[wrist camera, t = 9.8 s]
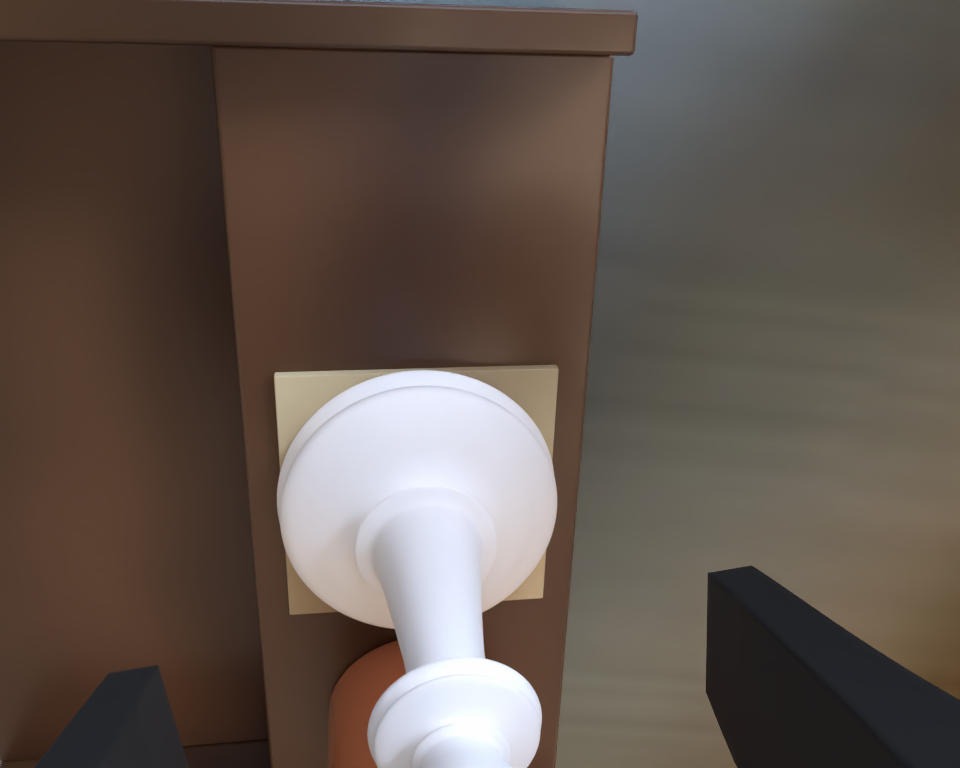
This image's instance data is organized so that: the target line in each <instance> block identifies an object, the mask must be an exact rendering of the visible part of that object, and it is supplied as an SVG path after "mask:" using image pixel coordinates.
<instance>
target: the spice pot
mask: <svg viewBox="0 0 960 768" xmlns="http://www.w3.org/2000/svg"><path fill="white" fill-rule="evenodd" d="M485 659H487V658H486V657H485ZM405 674H406V670H405V666H404V661H403V657H402V653H401V650H400V646H399V643H398V640H395V641H392V642H389V643H386V644H383V645H381V646H379V647H377V648H375V649H373V650H371V651H369V652H368V653H366V654H365V655H363V656H362V657H360V658H359V659H358V660H356V661H355V662H354V663H353V664H352V665H351V666H350V667H349V668H348V669H347V670H346V671H345V672H344V674H343V675H342V676H341V678H340V679H339V681H338V682H337V684H336V686H335V688H334V689H333V692H332V695H331V697H330V701H329V706H328V733H327V768H377V765H376V763H375V761H374V759H373V757H372V755H371V752H370V749H369V745H368V738H367V731H368V724H369V719H370V716H371V713H372V711H373V709H374V707H375V705H376V703H377V701H378V700H379V698H380V697H381V696H382V694H383V693H384V692H385V691H386V690H387V689H388V688H389V687H390V686H391V685H392V684H393V683H394V682H395V681H396V680H398V679H399V678H400V677H402V676H403V675H405Z"/></svg>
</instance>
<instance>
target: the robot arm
mask: <svg viewBox="0 0 960 768" xmlns="http://www.w3.org/2000/svg"><path fill="white" fill-rule="evenodd" d="M706 693H707V695H708V698H709V701H710V703H711V706H712V708H713V711H714V713H715V716H716V718H717V721H718V723H719V726H720V728H721V731H722V733H723V736H724V738H725V740H726V743H727V745H728V748H729V750H730V752H731V755H732V757H733V759H734V762H735V764H736V765H737V767H738V768H960V700H958V699H957V698H955V697H953V696H952V695H950V694H948V693H946V692H945V691H943V690H941V689H940V688H938V687H936V686H934V685H933V684H931V683H929V682H928V681H926V680H924V679H922V678H921V677H919V676H917V675H916V674H914V673H912V672H911V671H909V670H908V669H906V668H904V667H903V666H901V665H900V664H898V663H896V662H895V661H893V660H891V659H890V658H888V657H887V656H885V655H884V654H882V653H880V652H879V651H877V650H876V649H874V648H873V647H871V646H870V645H868V644H867V643H865V642H864V641H862V640H860V639H859V638H857V637H856V636H854V635H853V634H851V633H850V632H848V631H847V630H845V629H844V628H842V627H841V626H839V625H838V624H836V623H835V622H834V621H832V620H831V619H829V618H828V617H826V616H825V615H823V614H822V613H820V612H819V611H818V610H816V609H815V608H813V607H812V606H810V605H809V604H807V603H806V602H804V601H803V600H802V599H800V598H799V597H797V596H796V595H794V594H793V593H791V592H790V591H789V590H787V589H786V588H784V587H783V586H781V585H780V584H778V583H777V582H776V581H774V580H773V579H771V578H770V577H768V576H767V575H765V574H764V573H762V572H761V571H759V570H758V569H756V568H755V567H753V566H747V567H741V568H735V569H729V570H723V571H717V572H711V573H708V600H707V658H706ZM34 768H189V766H188V763H187V760H186V756H185V753H184V750H183V746H182V743H181V740H180V736H179V733H178V730H177V727H176V723H175V720H174V717H173V713H172V710H171V707H170V703H169V700H168V697H167V693H166V690H165V687H164V684H163V680H162V677H161V674H160V670H159V667H158V665H155V666H149V667H143V668H137V669H131V670H125V671H119V672H113V673H108V675H107V676H106V677H105V678H104V680H103V681H102V682H101V683H100V685H99V686H98V687H97V688H96V689H95V691H94V692H93V693H92V694H91V696H90V697H89V698H88V699H87V701H86V702H85V703H84V704H83V706H82V707H81V708H80V710H79V711H78V712H77V713H76V715H75V716H74V717H73V719H72V720H71V721H70V722H69V724H68V725H67V726H66V728H65V729H64V730H63V731H62V733H61V734H60V735H59V737H58V738H57V739H56V740H55V742H54V743H53V744H52V746H51V747H50V748H49V749H48V751H47V752H46V753H45V754H44V756H43V757H42V758H41V760H40V761H39V762H38V763H37V765H36V766H35V767H34Z"/></svg>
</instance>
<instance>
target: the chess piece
mask: <svg viewBox="0 0 960 768" xmlns="http://www.w3.org/2000/svg"><path fill="white" fill-rule="evenodd" d="M277 511H278V517H279V522H280V529H281V535H282V540H283V544H284V547H285V550H286V553H287V555H288V558H289V560H290V562H291V564H292V566H293V567H294V569H295V571H296V572H297V574H298V575H299V577H300V578H301V579H302V581H303V582H304V583H305V584H306V586H307V587H308V588H309V589H310V590H311V591H312V592H313V593H314V594H315V595H316V596H317V597H319V598H320V599H321V600H322V601H324V602H325V603H326V604H328V605H329V606H330V607H332V608H334V609H335V610H337V611H339V612H340V613H342V614H344V615H346V616H348V617H351V618H353V619H356V620H358V621H361V622H364V623H367V624H371V625H375V626H379V627H384V628H391V629H395V632H396V635H397V639H398V643H399V646H400V650H401V653H402V657H403V661H404V666H405V670H406V674H405V675H403V676H402V677H400V678H399V679H398V680H396V681H395V682H394V683H393V684H392V685H391V686H390V687H389V688H388V689H387V690H386V691H385V692H384V693H383V694H382V696H381V697H380V698H379V700H378V701H377V703H376V705H375V707H374V709H373V711H372V713H371V716H370V719H369V724H368V731H367V738H368V745H369V749H370V752H371V755H372V757H373V759H374V761H375V763H376V765H377V768H527V767H528V766H529V764H530V763H531V761H532V759H533V758H534V756H535V754H536V751H537V749H538V745H539V741H540V733H541V725H542V711H541V705H540V702H539V699H538V696H537V694H536V692H535V691H534V689H533V687H532V686H531V685H530V683H529V682H528V681H527V680H526V679H525V678H524V677H523V676H522V675H520V674H519V673H518V672H516V671H515V670H513V669H512V668H510V667H508V666H506V665H504V664H501V663H499V662H496V661H493V660H489V659H485V652H484V641H483V621H482V613H483V612H484V611H486V610H488V609H490V608H492V607H493V606H495V605H497V604H498V603H500V602H501V601H502V600H504V599H505V598H506V597H508V596H509V595H510V594H511V593H513V592H514V591H515V590H516V589H517V588H518V587H519V586H520V585H521V584H522V583H523V582H524V581H525V580H526V579H527V578H528V577H529V575H530V574H531V573H532V572H533V570H534V569H535V567H536V566H537V564H538V563H539V561H540V560H541V558H542V556H543V554H544V553H545V551H546V548H547V546H548V544H549V541H550V539H551V536H552V533H553V529H554V525H555V520H556V514H557V488H556V482H555V477H554V469H553V463H552V459H551V455H550V452H549V449H548V447H547V444H546V442H545V440H544V438H543V436H542V434H541V432H540V430H539V429H538V427H537V426H536V424H535V423H534V422H533V420H532V419H531V418H530V416H529V415H528V414H527V413H526V412H525V411H524V410H523V409H522V408H521V407H520V406H519V405H518V404H517V403H516V402H514V401H513V400H512V399H511V398H509V397H508V396H507V395H505V394H504V393H502V392H501V391H499V390H497V389H496V388H494V387H492V386H490V385H488V384H486V383H484V382H481V381H479V380H476V379H473V378H470V377H467V376H464V375H460V374H455V373H450V372H444V371H433V370H414V371H403V372H397V373H391V374H387V375H383V376H379V377H376V378H373V379H370V380H367V381H364V382H362V383H360V384H357V385H355V386H353V387H351V388H349V389H347V390H346V391H344V392H342V393H340V394H339V395H337V396H336V397H334V398H333V399H331V400H330V401H329V402H327V403H326V404H325V405H324V406H322V407H321V408H320V409H319V410H318V411H317V412H316V413H315V414H314V415H313V416H312V417H311V418H310V419H309V420H308V421H307V422H306V423H305V425H304V426H303V427H302V428H301V430H300V431H299V432H298V434H297V435H296V437H295V438H294V440H293V442H292V444H291V445H290V447H289V449H288V451H287V454H286V456H285V458H284V461H283V464H282V467H281V471H280V475H279V480H278V487H277Z"/></svg>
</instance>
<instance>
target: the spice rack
mask: <svg viewBox="0 0 960 768" xmlns="http://www.w3.org/2000/svg"><path fill="white" fill-rule="evenodd" d="M637 19H638V15H637V12H635V11H633V10H607V9H577V8H546V7H514V6H483V5H451V4H419V3H388V2H356V1H325V0H0V759H1V761H2V764H1V766H0V768H34V767H35V766H36V765H37V763H38V762H39V761H40V760H41V758H42V757H43V756H44V754H45V753H46V752H47V751H48V749H49V748H50V747H51V746H52V744H53V743H54V742H55V740H56V739H57V738H58V737H59V735H60V734H61V733H62V731H63V730H64V729H65V728H66V726H67V725H68V724H69V722H70V721H71V720H72V719H73V717H74V716H75V715H76V713H77V712H78V711H79V710H80V708H81V707H82V706H83V704H84V703H85V702H86V701H87V699H88V698H89V697H90V696H91V694H92V693H93V692H94V691H95V689H96V688H97V687H98V686H99V685H100V683H101V682H102V681H103V680H104V678H105V677H106V676H107V675H108V673H113V672H119V671H125V670H131V669H137V668H143V667H149V666H155V665H158V667H159V670H160V674H161V677H162V680H163V684H164V687H165V690H166V693H167V697H168V700H169V703H170V707H171V710H172V713H173V717H174V720H175V723H176V727H177V730H178V733H179V736H180V740H181V743H182V746H183V750H184V753H185V756H186V760H187V763H188V766H189V768H327V733H328V706H329V701H330V697H331V695H332V692H333V689H334V688H335V686H336V684H337V682H338V681H339V679H340V678H341V676H342V675H343V674H344V672H345V671H346V670H347V669H348V668H349V667H350V666H351V665H352V664H353V663H354V662H355V661H356V660H358V659H359V658H360V657H362V656H363V655H365V654H366V653H368V652H369V651H371V650H373V649H375V648H377V647H379V646H381V645H383V644H386V643H389V642H392V641H395V640H398V639H397V635H396V632H395V629H391V628H384V627H379V626H375V625H371V624H367V623H364V622H361V621H358V620H356V619H353V618H351V617H348V616H346V615H344V614H342V613H340V612H339V611H337V610H335V609H334V608H332V607H330V606H329V605H328V604H326V603H325V602H324V601H322V600H321V599H320V598H319V597H317V596H316V595H315V594H314V593H313V592H312V591H311V590H310V589H309V588H308V587H307V586H306V584H305V583H304V582H303V581H302V579H301V578H300V577H299V575H298V574H297V572H296V571H295V569H294V567H293V566H292V564H291V562H290V560H289V558H288V555H287V553H286V550H285V547H284V544H283V540H282V535H281V529H280V522H279V517H278V511H277V487H278V480H279V475H280V471H281V467H282V464H283V461H284V458H285V456H286V454H287V451H288V449H289V447H290V445H291V444H292V442H293V440H294V438H295V437H296V435H297V434H298V432H299V431H300V430H301V428H302V427H303V426H304V425H305V423H306V422H307V421H308V420H309V419H310V418H311V417H312V416H313V415H314V414H315V413H316V412H317V411H318V410H319V409H320V408H321V407H322V406H324V405H325V404H326V403H327V402H329V401H330V400H331V399H333V398H334V397H336V396H337V395H339V394H340V393H342V392H344V391H346V390H347V389H349V388H351V387H353V386H355V385H357V384H360V383H362V382H364V381H367V380H370V379H373V378H376V377H379V376H383V375H387V374H391V373H397V372H403V371H414V370H433V371H444V372H450V373H455V374H460V375H464V376H467V377H470V378H473V379H476V380H479V381H481V382H484V383H486V384H488V385H490V386H492V387H494V388H496V389H497V390H499V391H501V392H502V393H504V394H505V395H507V396H508V397H509V398H511V399H512V400H513V401H514V402H516V403H517V404H518V405H519V406H520V407H521V408H522V409H523V410H524V411H525V412H526V413H527V414H528V415H529V416H530V418H531V419H532V420H533V422H534V423H535V424H536V426H537V427H538V429H539V430H540V432H541V434H542V436H543V438H544V440H545V442H546V444H547V447H548V449H549V452H550V455H551V459H552V463H553V469H554V477H555V482H556V488H557V514H556V520H555V525H554V529H553V533H552V536H551V539H550V541H549V544H548V546H547V548H546V551H545V553H544V554H543V556H542V558H541V560H540V561H539V563H538V564H537V566H536V567H535V569H534V570H533V572H532V573H531V574H530V575H529V577H528V578H527V579H526V580H525V581H524V582H523V583H522V584H521V585H520V586H519V587H518V588H517V589H516V590H515V591H514V592H513V593H511V594H510V595H509V596H508V597H506V598H505V599H504V600H502V601H501V602H500V603H498V604H497V605H495V606H493V607H492V608H490V609H488V610H486V611H484V612H483V613H482V621H483V641H484V652H485V657H486V658H487V659H489V660H493V661H496V662H499V663H501V664H504V665H506V666H508V667H510V668H512V669H513V670H515V671H516V672H518V673H519V674H520V675H522V676H523V677H524V678H525V679H526V680H527V681H528V682H529V683H530V685H531V686H532V687H533V689H534V691H535V692H536V694H537V696H538V699H539V702H540V705H541V711H542V725H541V733H540V741H539V745H538V749H537V751H536V754H535V756H534V758H533V759H532V761H531V763H530V764H529V766H528V767H527V768H555V762H556V750H557V738H558V726H559V714H560V702H561V690H562V678H563V666H564V654H565V642H566V629H567V617H568V605H569V593H570V581H571V569H572V557H573V545H574V533H575V521H576V509H577V497H578V484H579V472H580V460H581V448H582V436H583V424H584V412H585V400H586V388H587V376H588V364H589V351H590V339H591V327H592V315H593V303H594V291H595V279H596V267H597V255H598V243H599V231H600V219H601V206H602V194H603V182H604V170H605V158H606V146H607V134H608V122H609V110H610V98H611V86H612V73H613V61H614V57H613V55H615V56H630V55H632V54H633V53H634V51H635V41H636V30H637Z"/></svg>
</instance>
